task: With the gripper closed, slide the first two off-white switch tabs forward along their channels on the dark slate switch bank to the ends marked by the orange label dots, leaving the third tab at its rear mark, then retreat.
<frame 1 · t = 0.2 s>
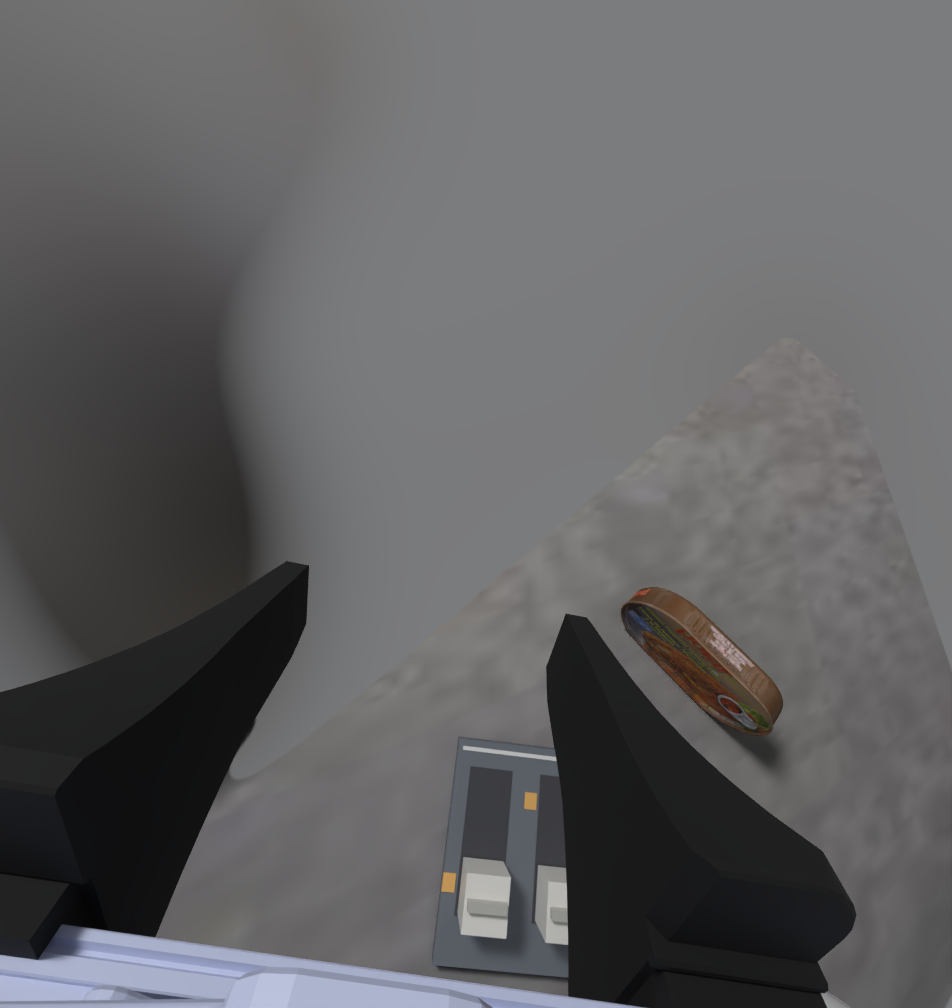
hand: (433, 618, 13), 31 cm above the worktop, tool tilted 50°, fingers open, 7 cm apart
tin: (672, 659, 45), on the worktop
tab 2: (563, 905, 34), point 3 cm above the worktop, slide at 0.0 cm
tab 3: (484, 897, 34), point 3 cm above the worktop, slide at 0.0 cm
switch bank: (554, 850, 38), on the worktop
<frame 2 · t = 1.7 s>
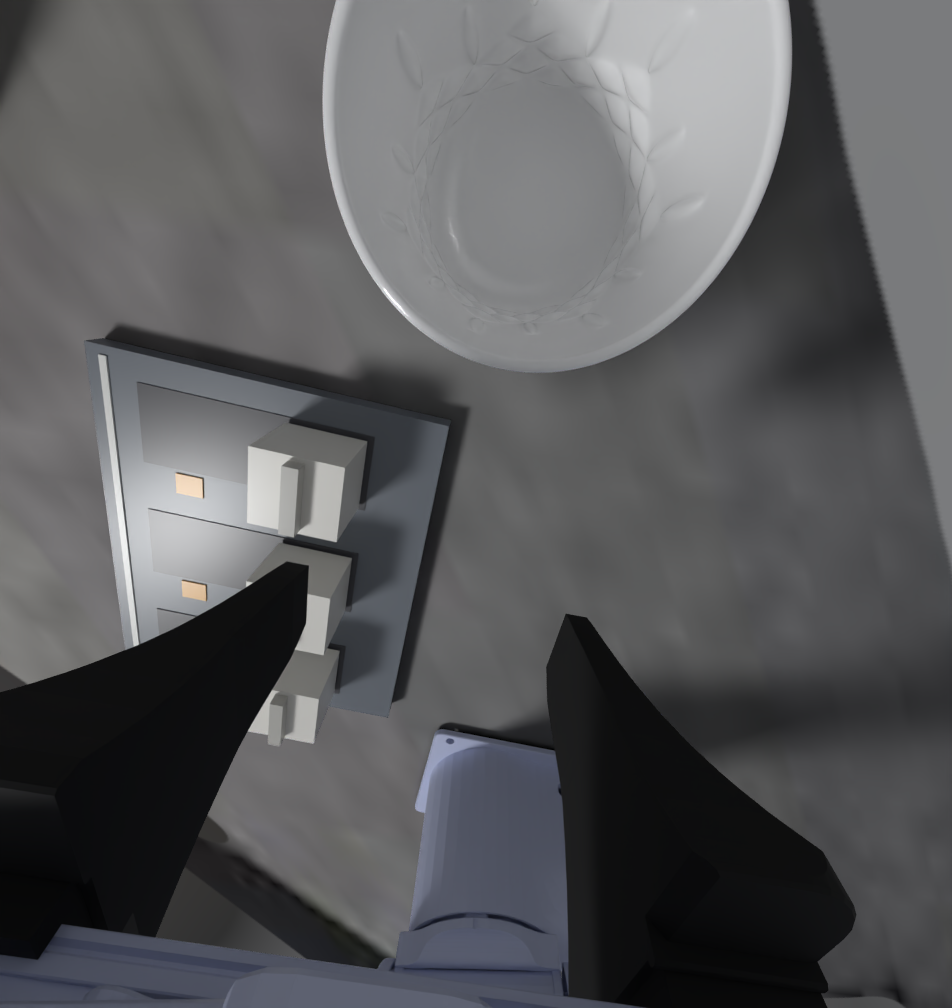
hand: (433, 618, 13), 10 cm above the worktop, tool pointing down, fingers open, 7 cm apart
tab 2: (298, 601, 21), point 3 cm above the worktop, slide at 0.0 cm
tab 1: (307, 483, 18), point 3 cm above the worktop, slide at 0.0 cm
tab 3: (291, 693, 23), point 3 cm above the worktop, slide at 0.0 cm
white cup: (520, 220, 17), on the worktop
switch bank: (273, 554, 24), on the worktop
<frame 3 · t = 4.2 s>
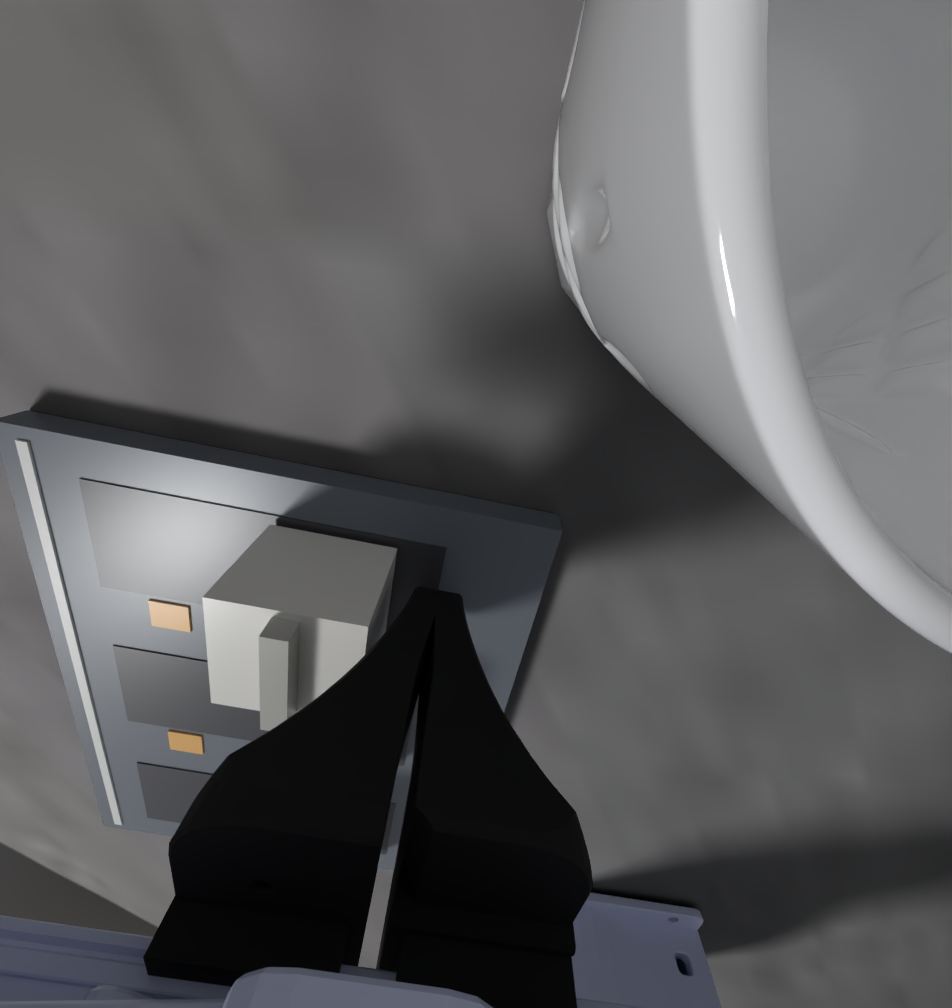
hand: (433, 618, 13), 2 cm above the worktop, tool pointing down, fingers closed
tab 1: (306, 628, 12), point 3 cm above the worktop, slide at 1.1 cm, touching gripper
white cup: (699, 202, 10), on the worktop
switch bank: (293, 688, 17), on the worktop
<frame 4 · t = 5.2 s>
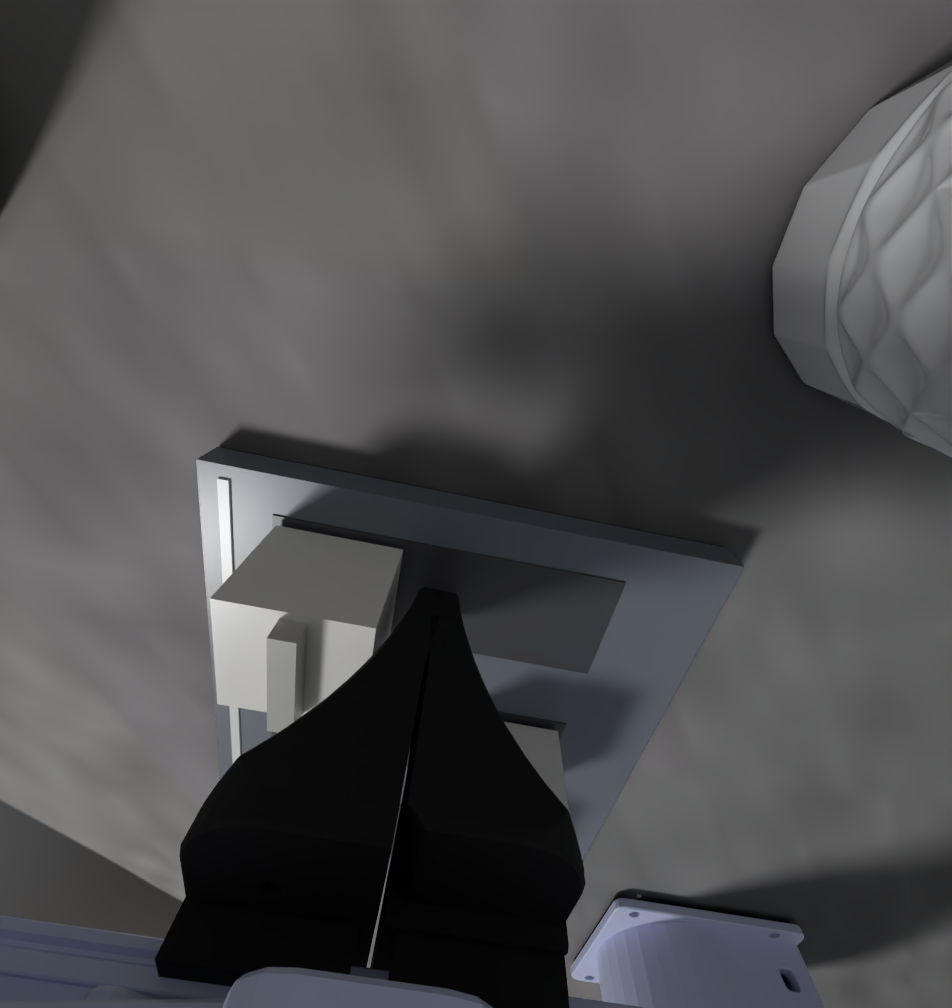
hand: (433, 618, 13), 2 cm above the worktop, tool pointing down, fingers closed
tab 2: (497, 808, 14), point 3 cm above the worktop, slide at 0.0 cm
tab 1: (312, 629, 12), point 3 cm above the worktop, slide at 6.1 cm, touching gripper
white cup: (918, 254, 10), on the worktop
switch bank: (431, 711, 17), on the worktop
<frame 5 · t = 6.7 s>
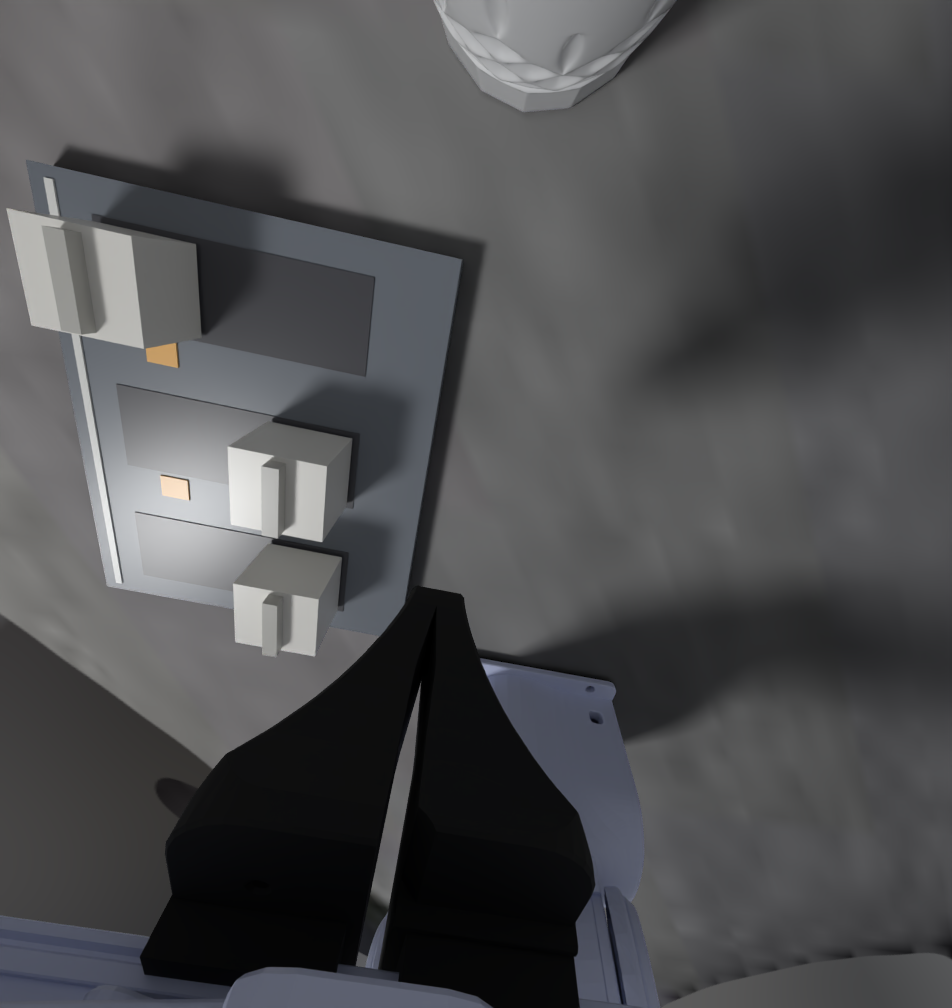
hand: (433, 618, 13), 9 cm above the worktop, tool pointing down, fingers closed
tab 2: (291, 482, 18), point 3 cm above the worktop, slide at 0.0 cm
tab 1: (111, 282, 15), point 3 cm above the worktop, slide at 6.1 cm
tab 3: (288, 602, 21), point 3 cm above the worktop, slide at 0.0 cm
switch bank: (263, 444, 21), on the worktop
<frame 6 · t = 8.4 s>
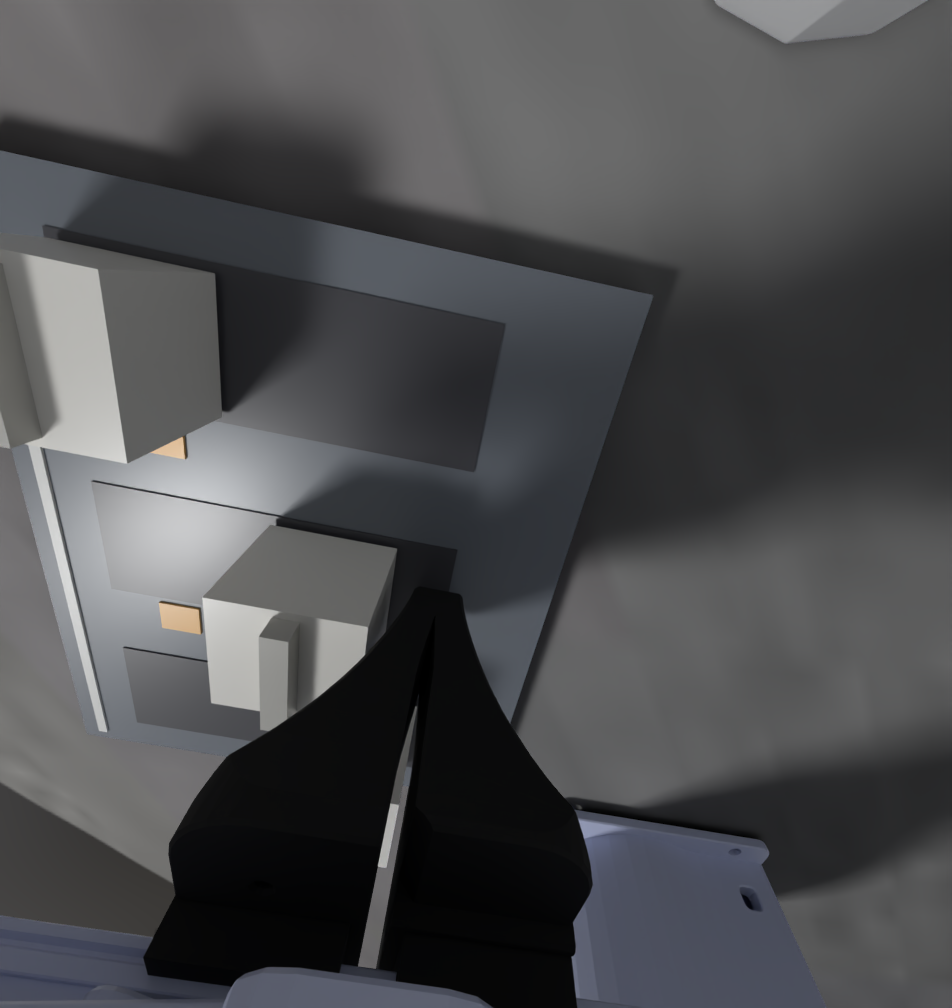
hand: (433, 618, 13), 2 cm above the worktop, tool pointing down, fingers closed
tab 2: (306, 628, 12), point 3 cm above the worktop, slide at 1.4 cm, touching gripper
tab 1: (71, 344, 9), point 3 cm above the worktop, slide at 6.1 cm
tab 3: (345, 783, 14), point 3 cm above the worktop, slide at 0.0 cm
switch bank: (308, 554, 14), on the worktop
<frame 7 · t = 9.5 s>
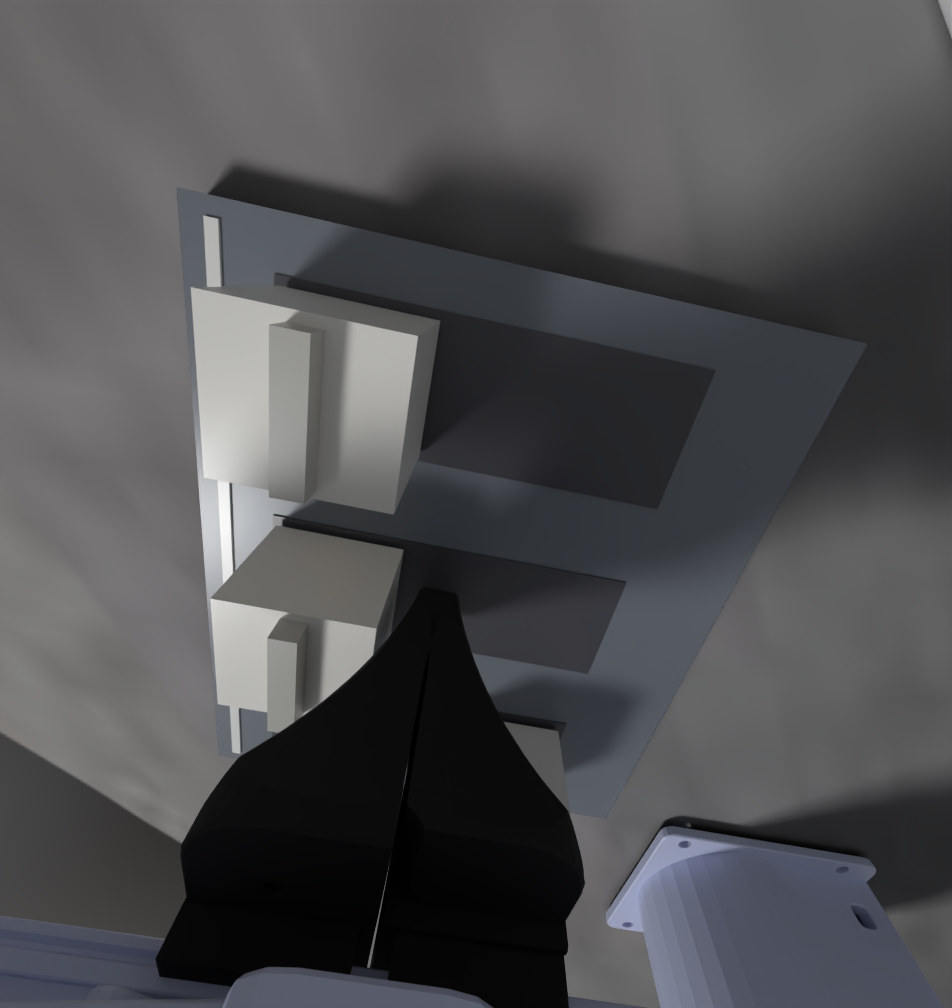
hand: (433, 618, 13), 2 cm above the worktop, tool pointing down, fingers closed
tab 2: (313, 629, 12), point 3 cm above the worktop, slide at 6.1 cm, touching gripper
tab 1: (327, 395, 9), point 3 cm above the worktop, slide at 6.1 cm
tab 3: (497, 808, 14), point 3 cm above the worktop, slide at 0.0 cm
switch bank: (461, 582, 14), on the worktop
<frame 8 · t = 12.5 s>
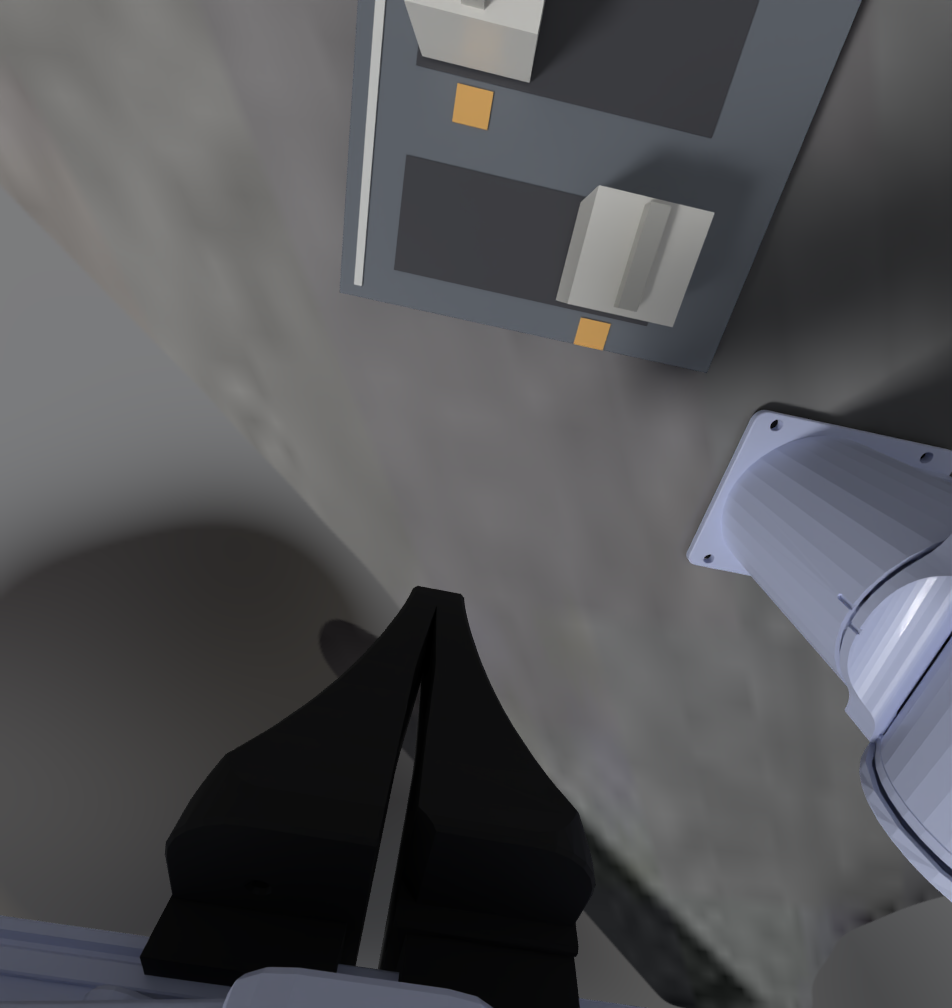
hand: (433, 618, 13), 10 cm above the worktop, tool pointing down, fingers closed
tab 3: (626, 261, 15), point 3 cm above the worktop, slide at 0.0 cm
switch bank: (591, 48, 15), on the worktop
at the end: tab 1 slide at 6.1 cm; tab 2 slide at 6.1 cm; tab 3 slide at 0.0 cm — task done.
